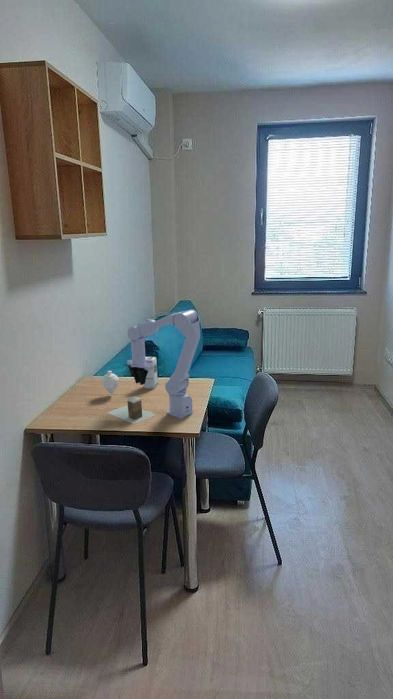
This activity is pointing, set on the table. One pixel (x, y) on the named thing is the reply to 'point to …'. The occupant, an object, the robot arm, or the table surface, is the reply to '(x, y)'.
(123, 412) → the sage mat
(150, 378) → the syrup box
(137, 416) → the brown and white block
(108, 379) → the spinning top
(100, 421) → the table surface
